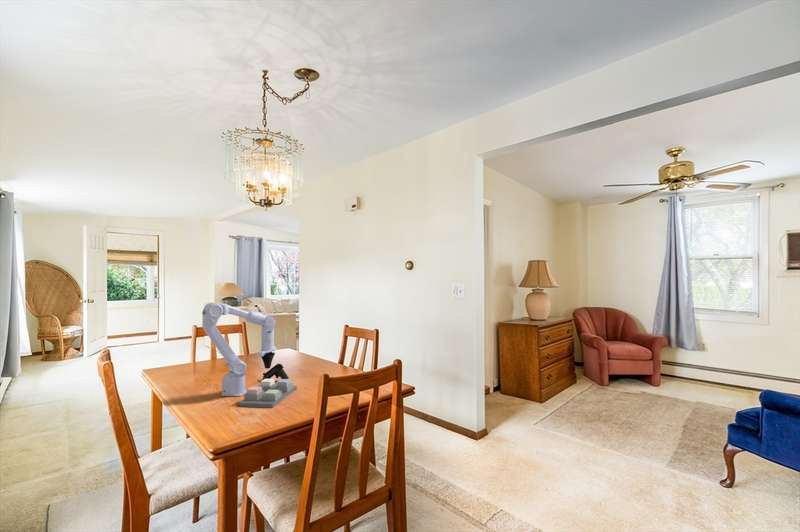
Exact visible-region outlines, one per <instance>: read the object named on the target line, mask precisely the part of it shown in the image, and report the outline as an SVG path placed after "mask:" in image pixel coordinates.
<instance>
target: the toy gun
mask: <svg viewBox="0 0 800 532" xmlns="http://www.w3.org/2000/svg"><path fill="white" fill-rule="evenodd" d="M262 375H263V376H262V380H264V379H272V378H273V377H274V376H275V378H276V379H278V378H280V380H281V379H289V376H288V374H287V373H286V371H285V369H284V365H283V364H282V363H276V364H275V365H273V367H270V368H269V370H267V371H266V372H263V373H262Z"/></svg>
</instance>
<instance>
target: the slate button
mask: <svg viewBox="0 0 800 532" xmlns="http://www.w3.org/2000/svg"><path fill="white" fill-rule="evenodd" d="M276 383H277V386H283V387H287V386H289V385H290V384H291V383H292V379H291V378H290V379H289V378H288V379H281V378H280V379H279V380H278V381H276Z"/></svg>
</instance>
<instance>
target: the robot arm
mask: <svg viewBox="0 0 800 532" xmlns="http://www.w3.org/2000/svg"><path fill="white" fill-rule="evenodd" d="M201 315H202V319H201V320H202V323H201V324H202V325H201V327H202V329H203V331H204V332H205V333H206V335H207V336H208V338H209V339H210V341H211V342H212V343H213V344H214V346H215V348H216V349H217V350H218V351H219V353H220V355H221V356H222V357H223V359H224V361H225V363H226V364H227V365H226V366H227V369H228V371H229V372H228V373H227V374H225V375H224V376H223V377H222V380H221V394H220V396H221V397H241V396H243V395H244V394H246V393H247V389H246V371H247V368H248V367H247V364H246V362H245V361H243V360H241V359H240V358H239V357H238V355H237V354H236V353H235V352H234V350H233V349H232V347H231V346H230V345H229V343H228V341H227V340H226V338H225V337H224V336H223V335H222V333H221V332H220V330H219V329H218V328H217V323H218V320H219V319H220V318H221V317H222V316H226V315H232V316H237V317H240V318H244V319H245V321H246V322H248V323H250V324H253V325H258V326H261V337H260V338H261V341H260V342H261V344H260V345H261V349H260V351H258V355H257V356H258V357H260V358H261V359H262V362H263V365H264V366H263V367H264V369H269V370H270V369H271V368H272V367H271V366H272V362H273V360H274V357H275V354H276V351H277V346H275V326H276V323H277V321H276V319H275V318H274V316H272V315H268V314H267V313H265V312H264V313H262V312H260V311H259V312H258V310H256V309H253V310H252V309H251V310H249V311H246V310H243V309H239V308H237V307H234V306H232V305H227V304H222V303H221V304H220V303H215V302H208V303H207V304H206V305H204V307H203V310H202V312H201Z"/></svg>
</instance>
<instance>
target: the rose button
mask: <svg viewBox="0 0 800 532" xmlns="http://www.w3.org/2000/svg"><path fill="white" fill-rule="evenodd" d="M258 386H259V385H258ZM258 386H249V388H247V389H246V390H247V394H254V395H257V394H259V393H260V392H262V387H258Z"/></svg>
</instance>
